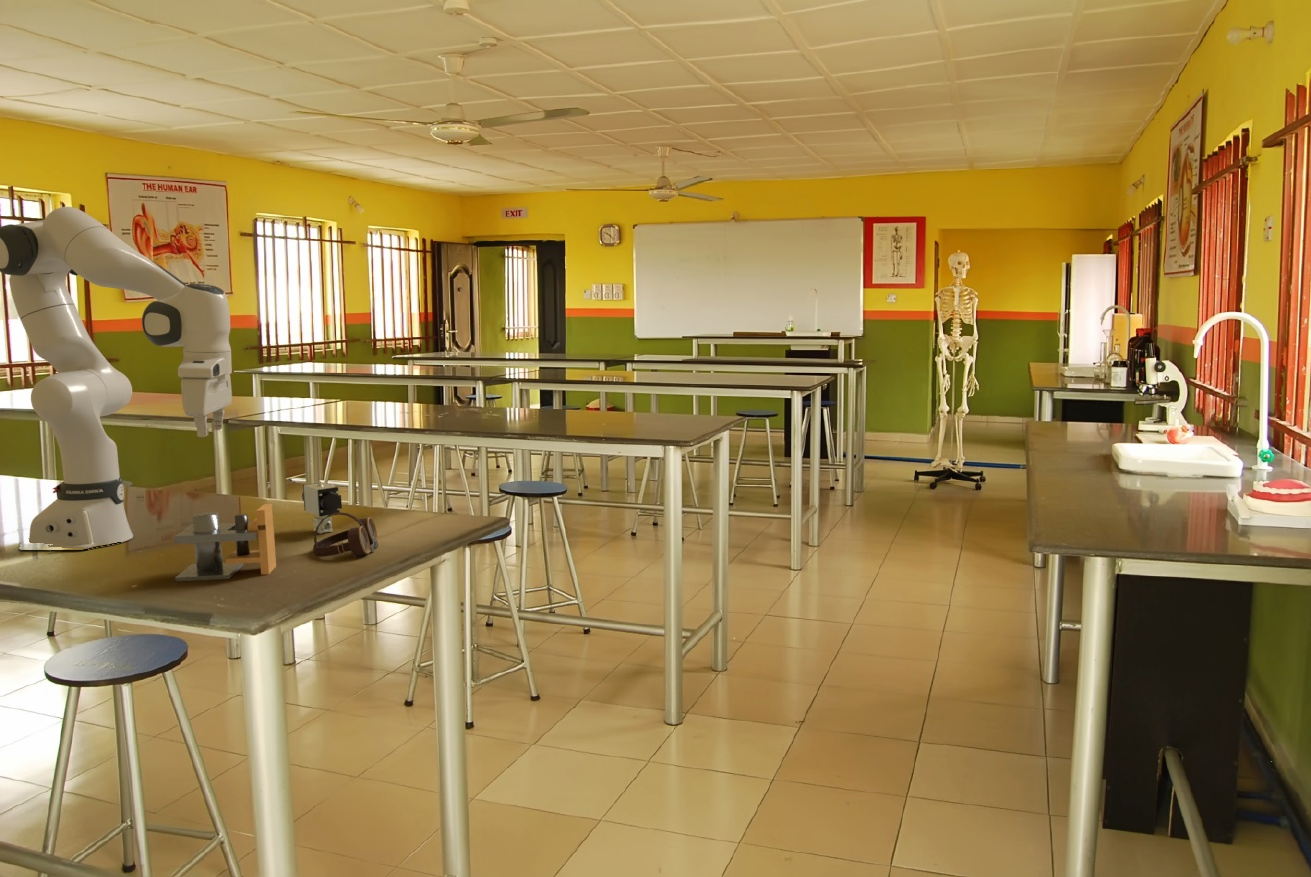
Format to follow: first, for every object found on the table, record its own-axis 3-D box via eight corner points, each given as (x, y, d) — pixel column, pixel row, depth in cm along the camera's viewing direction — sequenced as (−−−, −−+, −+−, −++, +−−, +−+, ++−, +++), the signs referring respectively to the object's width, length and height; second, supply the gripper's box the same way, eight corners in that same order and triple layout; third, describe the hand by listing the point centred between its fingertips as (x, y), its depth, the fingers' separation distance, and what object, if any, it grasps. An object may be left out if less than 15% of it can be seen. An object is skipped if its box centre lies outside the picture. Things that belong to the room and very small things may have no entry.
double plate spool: (175, 581, 194) (170, 521, 193) (192, 567, 204) (187, 510, 203) (258, 577, 196) (254, 517, 195) (271, 563, 206) (266, 506, 205)
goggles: (371, 558, 209) (357, 513, 207) (309, 574, 208) (295, 529, 207) (384, 540, 224) (371, 498, 222) (327, 555, 223) (314, 513, 222)
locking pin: (235, 556, 199) (233, 516, 198) (238, 553, 201) (236, 514, 200) (248, 555, 199) (245, 516, 198) (251, 552, 202) (248, 513, 201)
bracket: (226, 576, 198) (221, 511, 196) (235, 568, 203) (230, 505, 202) (269, 574, 199) (264, 510, 197) (276, 566, 204) (271, 503, 203)
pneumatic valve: (324, 537, 228) (320, 486, 227) (303, 529, 237) (299, 479, 235) (347, 533, 232) (343, 482, 230) (325, 525, 241) (322, 476, 239)
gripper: (207, 361, 212) (209, 425, 214) (174, 369, 192) (177, 440, 194) (238, 361, 213) (240, 426, 215) (208, 370, 193) (211, 440, 195)
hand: (210, 433), depth 204 cm, fingers open, 8 cm apart
